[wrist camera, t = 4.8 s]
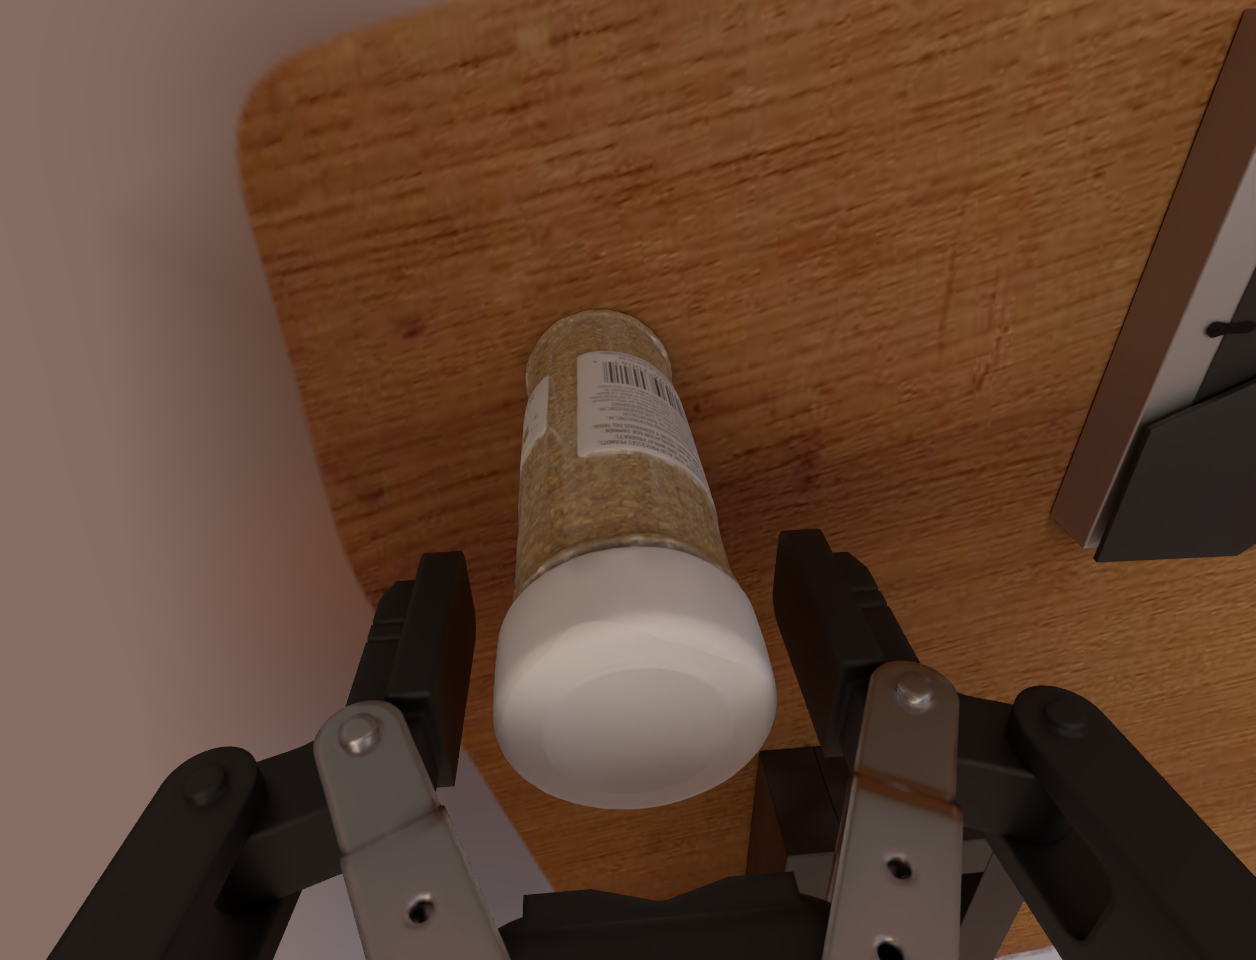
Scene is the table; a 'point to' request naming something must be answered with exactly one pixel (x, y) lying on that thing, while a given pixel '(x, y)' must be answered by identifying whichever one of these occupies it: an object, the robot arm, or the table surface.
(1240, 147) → the picture frame
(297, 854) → the robot arm
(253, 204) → the table surface
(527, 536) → the spice jar
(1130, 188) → the table surface
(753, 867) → the holder
